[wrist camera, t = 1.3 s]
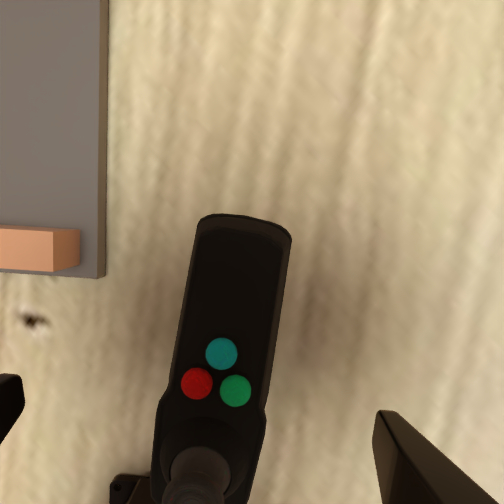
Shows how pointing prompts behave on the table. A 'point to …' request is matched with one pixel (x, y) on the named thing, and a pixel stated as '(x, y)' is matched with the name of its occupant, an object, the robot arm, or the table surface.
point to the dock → (53, 137)
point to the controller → (221, 363)
